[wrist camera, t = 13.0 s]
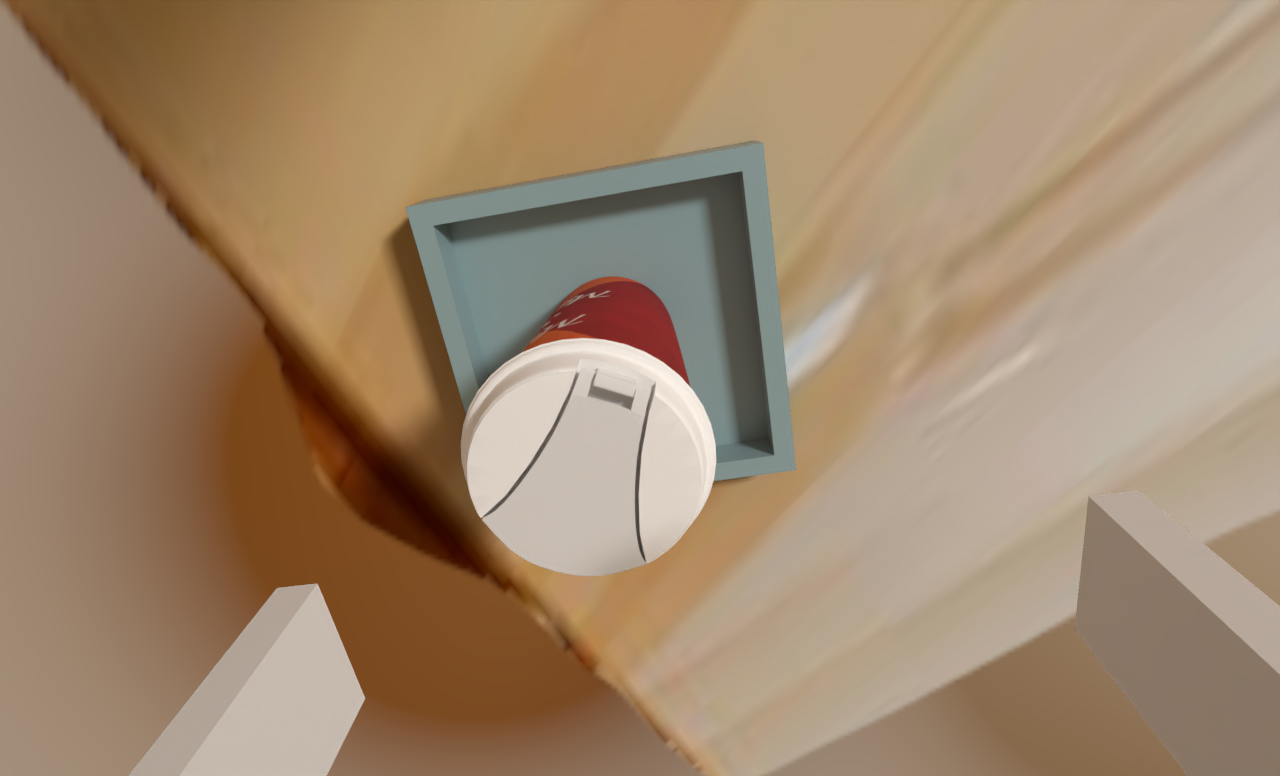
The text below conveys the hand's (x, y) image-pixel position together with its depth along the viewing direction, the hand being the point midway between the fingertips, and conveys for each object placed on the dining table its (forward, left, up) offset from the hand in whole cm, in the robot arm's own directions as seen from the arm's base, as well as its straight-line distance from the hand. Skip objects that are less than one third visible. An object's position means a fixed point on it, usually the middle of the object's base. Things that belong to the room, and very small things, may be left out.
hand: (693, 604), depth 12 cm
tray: (+2, -3, -24) cm, 24 cm away
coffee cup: (+2, -3, -24) cm, 24 cm away
